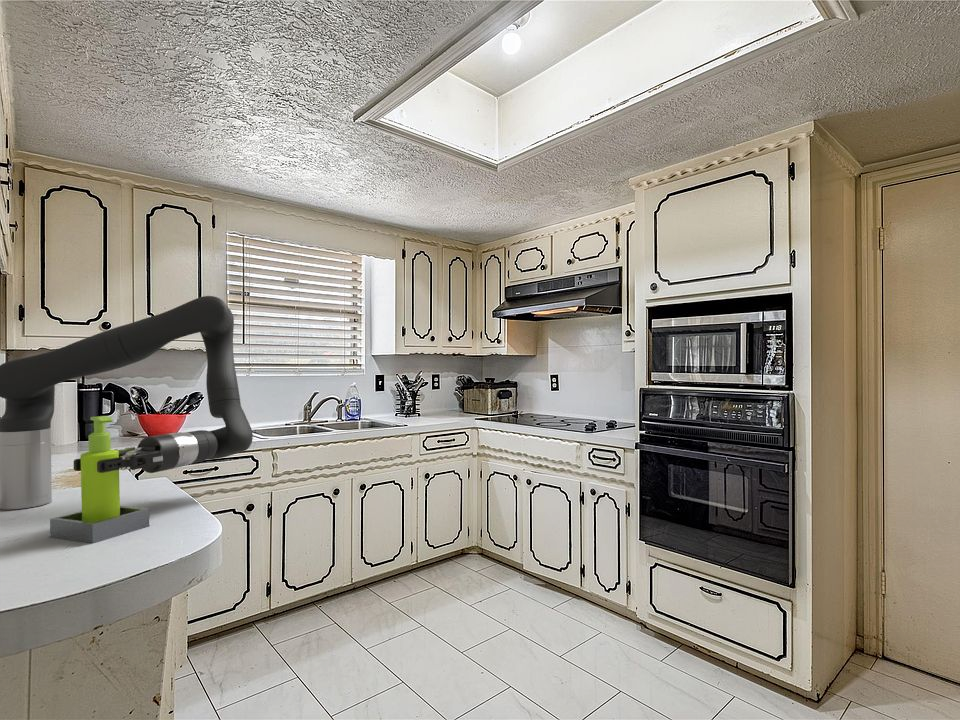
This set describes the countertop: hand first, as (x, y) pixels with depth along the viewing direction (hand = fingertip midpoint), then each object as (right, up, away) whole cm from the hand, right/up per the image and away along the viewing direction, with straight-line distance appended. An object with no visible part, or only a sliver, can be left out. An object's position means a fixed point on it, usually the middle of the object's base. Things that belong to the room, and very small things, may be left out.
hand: (86, 466), depth 100 cm
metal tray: (+1, -13, +2) cm, 13 cm away
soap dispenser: (+1, -11, +2) cm, 11 cm away
